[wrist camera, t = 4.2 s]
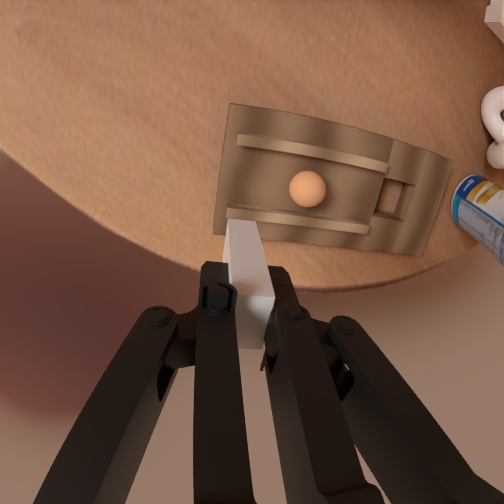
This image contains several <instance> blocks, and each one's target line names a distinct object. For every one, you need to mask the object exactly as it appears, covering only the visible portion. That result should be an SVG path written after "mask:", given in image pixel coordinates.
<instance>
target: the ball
mask: <svg viewBox="0 0 504 504" xmlns="http://www.w3.org/2000/svg"><path fill="white" fill-rule="evenodd" d="M289 191H290V195H291V197H292V199H293V200H294V201H295V202H296V203H297V204H298V205H300V206H303V207H313V206H316V205H318V204H319V203H320V202H321V201H322V200H323V198H324V197H325V194H326V185H325V182H324V180H323V179H322V177H321V176H320V175H319V174H317V173H315V172H313V171H302V172H299V173H298V174H296V175H295V176H294V177H293V178H292V180H291V182H290V186H289Z"/></svg>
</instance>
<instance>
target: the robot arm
mask: <svg viewBox="0 0 504 504" xmlns="http://www.w3.org/2000/svg"><path fill="white" fill-rule="evenodd" d="M264 342H265V348H266V349H265V353H264V356H263V360H262V363H261V368H260V371H263V368H264V366H265V372H266V378H267V384H268V390H269V397H270V403H271V409H272V415H273V421H274V427H275V433H276V440H277V445H278V452H279V457H280V464H281V470H282V476H283V482H284V488H285V494H286V500H287V504H385V503H384V499H383V496H382V494H381V492H380V490H379V489H378V488H377V487H376V486H375V485H373V484H370V483H368V482H367V481H366V480H365V478H364V475H363V471H362V468H361V465H360V462H359V458H358V455H357V452H356V449H355V446H356V447H357V449H358V451H359V452H360V454H361V455H362V457H363V459H364V460H365V462H366V464H367V465H368V467H369V468H370V470H371V472H372V473H373V475H374V476H375V478H376V480H377V481H378V483H379V485H380V486H381V488H382V490H383V491H384V493H385V495H386V496H387V498H388V499H389V501H390V503H391V504H504V494H503V493H502V492H500V491H499V490H497V489H496V488H495V487H493V486H492V485H490V484H489V483H487V482H486V481H485V480H483V479H482V478H480V477H479V476H477V475H476V474H475V473H474V472H473V471H472V470H471V468H470V466H469V465H468V464H467V462H466V461H465V460H464V458H463V457H462V455H461V454H460V453H459V451H458V450H457V449H456V447H455V446H454V444H453V443H452V442H451V440H450V439H449V438H448V436H447V435H446V434H445V432H444V431H443V430H442V428H441V427H440V426H439V425H438V423H437V421H436V420H435V419H434V418H433V416H432V415H431V414H430V412H429V411H428V410H427V408H426V407H425V406H424V405H423V403H422V402H421V401H420V399H419V398H418V397H417V395H416V394H415V393H414V392H413V390H412V389H411V388H410V386H409V385H408V384H407V383H406V381H405V380H404V379H403V377H402V376H401V375H400V374H399V372H398V371H397V370H396V369H395V367H394V366H393V365H392V364H391V363H390V361H389V360H388V359H387V357H386V356H385V355H384V354H383V352H382V351H381V350H380V349H379V347H378V346H377V345H376V344H375V343H374V341H373V340H372V339H371V338H370V336H368V334H367V333H366V331H365V330H364V329H363V328H362V327H361V325H360V324H359V323H358V322H356V321H355V320H354V319H352V318H350V317H347V316H336V317H333V318H332V319H331V321H330V323H327V322H323V321H318V320H316V319H312V318H311V316H310V314H309V312H308V311H307V309H305V308H304V307H303V306H301V305H299V302H298V299H297V296H296V293H295V290H294V287H293V284H292V281H291V279H290V276H289V273H288V272H287V271H286V270H285V269H284V268H283V267H279V266H267V263H266V259H265V255H264V251H263V247H262V243H261V239H260V236H259V232H258V228H257V224H256V221H249V220H239V219H229V218H228V222H227V230H226V237H225V245H224V253H223V261H222V262H211V261H206V262H205V263H204V264H203V265H202V267H201V277H200V289H199V302H198V305H197V306H196V308H195V309H193V310H192V311H190V312H188V313H184V314H178V315H177V314H176V313H175V312H174V311H173V310H172V309H170V308H168V307H163V306H154V307H150V308H148V309H146V310H145V311H144V312H143V313H142V314H141V315H140V317H139V318H138V320H137V321H136V323H135V324H134V326H133V328H132V329H131V331H130V332H129V334H128V335H127V337H126V339H125V340H124V342H123V343H122V345H121V346H120V348H119V350H118V351H117V353H116V354H115V356H114V357H113V359H112V361H111V363H110V364H109V366H108V367H107V369H106V371H105V372H104V374H103V375H102V377H101V379H100V380H99V382H98V384H97V386H96V387H95V389H94V391H93V392H92V394H91V396H90V397H89V399H88V401H87V402H86V404H85V406H84V407H83V409H82V411H81V413H80V414H79V416H78V418H77V420H76V421H75V423H74V425H73V427H72V429H71V431H70V432H69V434H68V436H67V438H66V440H65V441H64V444H63V445H62V447H61V449H60V451H59V453H58V455H57V456H56V458H55V460H54V462H53V464H52V466H51V468H50V470H49V472H48V474H47V476H46V478H45V480H44V482H43V484H42V486H41V488H40V490H39V492H38V494H37V496H36V498H35V500H34V502H33V504H125V502H126V499H127V497H128V494H129V491H130V489H131V486H132V484H133V481H134V479H135V476H136V473H137V471H138V468H139V466H140V463H141V461H142V458H143V455H144V453H145V450H146V448H147V445H148V443H149V440H150V438H151V435H152V433H153V430H154V428H155V425H156V423H157V420H158V418H159V416H160V413H161V410H162V408H163V406H164V403H165V401H166V398H167V396H168V393H169V391H170V389H171V386H172V384H173V381H174V379H175V377H176V374H177V372H178V368H183V367H188V366H194V365H195V380H194V416H193V417H194V418H193V484H194V485H193V488H194V504H257V503H256V501H255V499H254V495H253V488H252V480H251V471H250V462H249V453H248V444H247V435H246V427H245V426H246V425H245V416H244V406H243V396H242V385H241V375H240V364H239V354H238V348H244V349H262V346H263V343H264ZM345 364H346V365H347V366H348V368H349V369H350V370H348V369H347V368H346V366H345ZM354 444H355V446H354Z"/></svg>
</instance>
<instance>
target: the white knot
mask: <svg viewBox="0 0 504 504" xmlns="http://www.w3.org/2000/svg"><path fill="white" fill-rule="evenodd" d="M501 111H502V119H503V120H502V119H501V116H500V113H501ZM481 117H482V120H483V123H484V125H485V127H486V128H487V130H488V131H489V133H490V134H491V136H492V137H493V138H494V139H495V141H494V142H492V143H491V145H490V146H489V148H488V150H487V152H486V156H487V160H488V162H489V164H490V165H491V166H492V167H494V168H498V169H502V168H504V86H501V87H496V88H494V89H492V90H491V91H489V92H488V93H487V94H486V95H485V97H484V98H483V101H482V104H481Z"/></svg>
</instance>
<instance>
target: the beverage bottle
mask: <svg viewBox="0 0 504 504" xmlns="http://www.w3.org/2000/svg"><path fill="white" fill-rule="evenodd" d="M451 214H452V218H453V220H454V222H455V223H456V224H457V225H458V226H459V227H460V228H461V229H463V230H465V231H466V232H468V233H469V234H470V235H471V236H473V237H474V238H475V239H476V240H478V241H479V242H480V243H481V244H482V245H483V246H485V247H486V248H487V249H488V250H489V251H491V253H493V254H494V255H495V257H496V259H497V260H498V261H499V262H500V263H501V264H502V265H504V189H503V188H501V187H499V186H497V185H496V184H494V183H492V182H490V181H488V180H487V179H485V178H484V177H482V176H480V175H470V176H467V177H466V178H464V179H463V180H462V181H461V182H460V183H459V185H458V186H457V188H456V190H455V192H454V194H453V197H452V202H451Z"/></svg>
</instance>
